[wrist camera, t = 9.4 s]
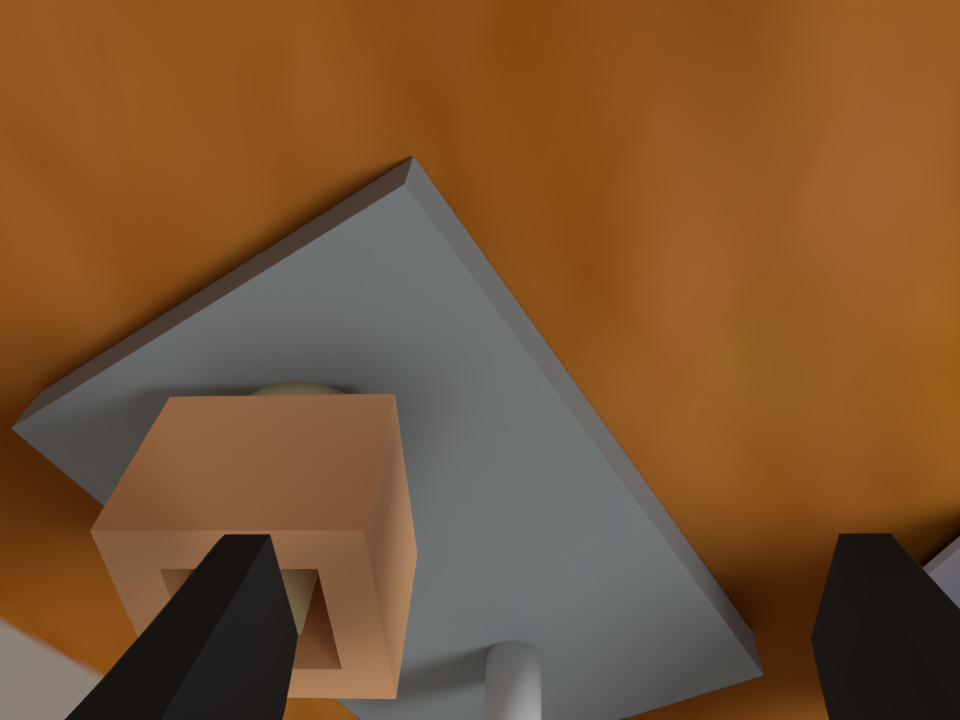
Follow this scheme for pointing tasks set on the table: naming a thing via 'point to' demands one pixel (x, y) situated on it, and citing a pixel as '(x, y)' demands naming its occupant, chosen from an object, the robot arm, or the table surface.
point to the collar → (278, 521)
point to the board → (439, 464)
